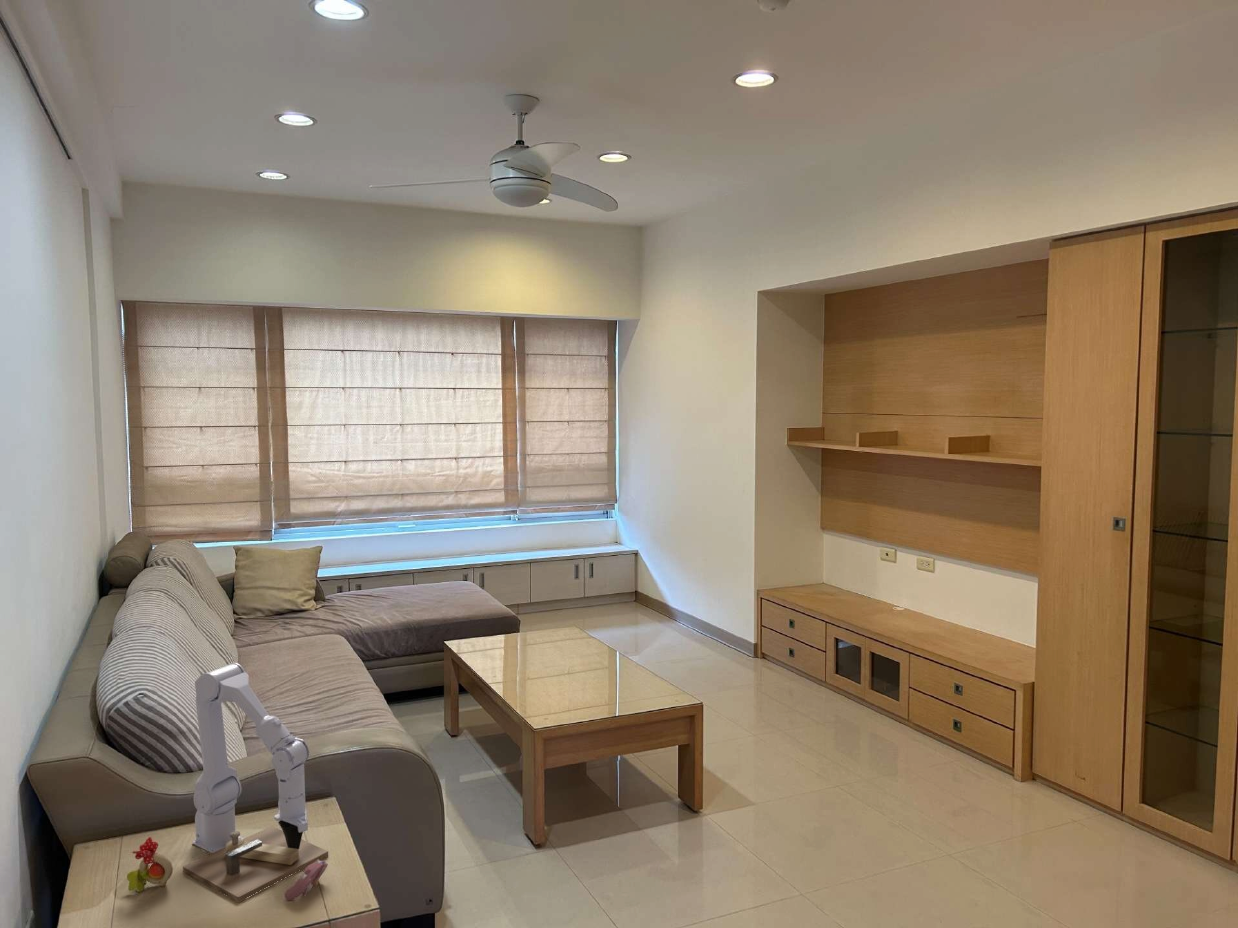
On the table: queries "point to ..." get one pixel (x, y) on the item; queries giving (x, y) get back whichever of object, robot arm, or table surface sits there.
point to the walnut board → (251, 867)
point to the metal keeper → (234, 855)
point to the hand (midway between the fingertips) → (294, 849)
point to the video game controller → (306, 880)
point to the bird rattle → (156, 872)
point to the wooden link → (264, 851)
